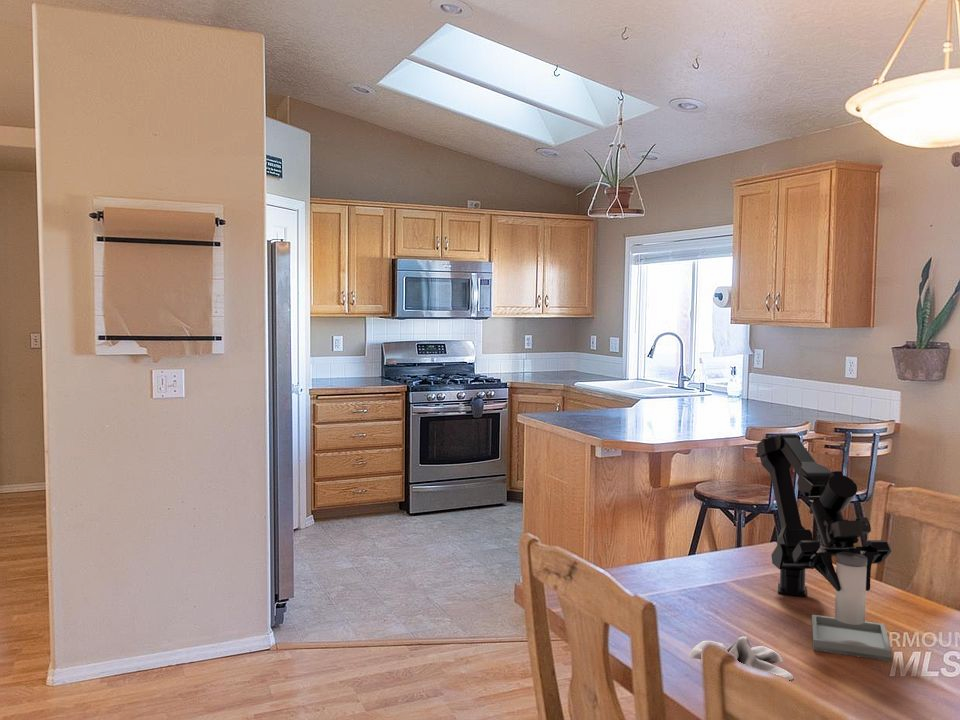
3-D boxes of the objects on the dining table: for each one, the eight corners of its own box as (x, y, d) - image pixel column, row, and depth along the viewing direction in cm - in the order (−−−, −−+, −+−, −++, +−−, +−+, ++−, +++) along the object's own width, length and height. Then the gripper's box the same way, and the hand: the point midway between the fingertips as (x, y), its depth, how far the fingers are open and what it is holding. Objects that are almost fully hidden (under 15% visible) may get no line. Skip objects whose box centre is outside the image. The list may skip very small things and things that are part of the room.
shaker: (828, 616, 161) (829, 554, 160) (848, 611, 163) (850, 550, 162) (851, 626, 156) (853, 562, 155) (872, 622, 158) (873, 558, 157)
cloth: (680, 644, 160) (681, 615, 160) (772, 646, 159) (772, 617, 159) (704, 697, 138) (705, 664, 138) (811, 700, 137) (812, 666, 137)
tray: (811, 624, 169) (812, 614, 169) (883, 634, 164) (884, 623, 163) (813, 650, 156) (813, 639, 156) (891, 661, 151) (891, 650, 150)
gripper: (799, 503, 162) (821, 572, 152) (888, 502, 162) (916, 572, 152) (783, 529, 170) (803, 596, 160) (868, 528, 170) (893, 596, 160)
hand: (853, 590), depth 158 cm, fingers closed on shaker, 6 cm apart
